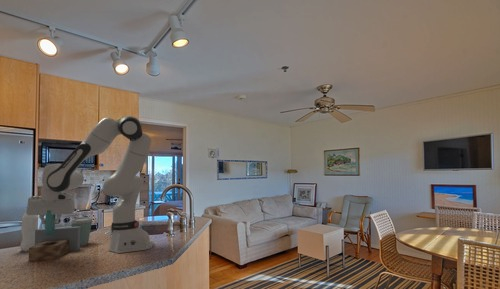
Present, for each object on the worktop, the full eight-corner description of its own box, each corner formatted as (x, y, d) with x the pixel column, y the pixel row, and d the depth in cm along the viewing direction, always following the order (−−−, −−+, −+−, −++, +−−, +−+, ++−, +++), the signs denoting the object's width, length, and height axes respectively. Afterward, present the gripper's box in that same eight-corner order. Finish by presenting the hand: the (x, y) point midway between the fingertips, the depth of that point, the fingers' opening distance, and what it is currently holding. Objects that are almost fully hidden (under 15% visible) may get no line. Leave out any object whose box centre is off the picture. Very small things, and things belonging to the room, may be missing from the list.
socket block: (68, 251, 140) (69, 239, 140) (57, 258, 128) (57, 245, 129) (42, 253, 137) (43, 241, 138) (28, 261, 126) (29, 247, 126)
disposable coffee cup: (95, 241, 158) (96, 216, 159) (85, 247, 147) (85, 219, 149) (77, 242, 158) (78, 216, 159) (65, 247, 147) (66, 220, 148)
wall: (79, 249, 144) (80, 226, 145) (77, 250, 141) (78, 227, 142) (37, 252, 140) (38, 228, 141) (34, 254, 137) (35, 230, 138)
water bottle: (22, 253, 139) (25, 204, 141) (17, 251, 143) (20, 203, 145) (39, 249, 145) (41, 202, 147) (33, 247, 149) (36, 202, 151)
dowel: (56, 232, 136) (57, 209, 137) (51, 234, 132) (53, 210, 133) (47, 233, 135) (48, 209, 136) (42, 235, 131) (44, 210, 132)
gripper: (24, 196, 130) (22, 225, 129) (71, 196, 134) (69, 224, 133) (32, 195, 136) (30, 223, 135) (76, 194, 140) (75, 221, 139)
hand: (50, 223), depth 134 cm, fingers closed on dowel, 4 cm apart
